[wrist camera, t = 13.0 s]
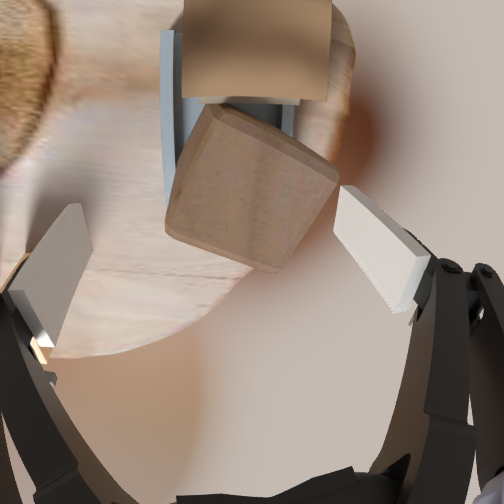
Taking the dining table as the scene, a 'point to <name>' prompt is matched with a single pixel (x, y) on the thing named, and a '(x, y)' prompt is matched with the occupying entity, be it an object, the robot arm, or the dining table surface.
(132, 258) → the dining table surface
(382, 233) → the robot arm
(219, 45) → the brown block
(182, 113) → the blue-grey tray
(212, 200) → the wooden block
